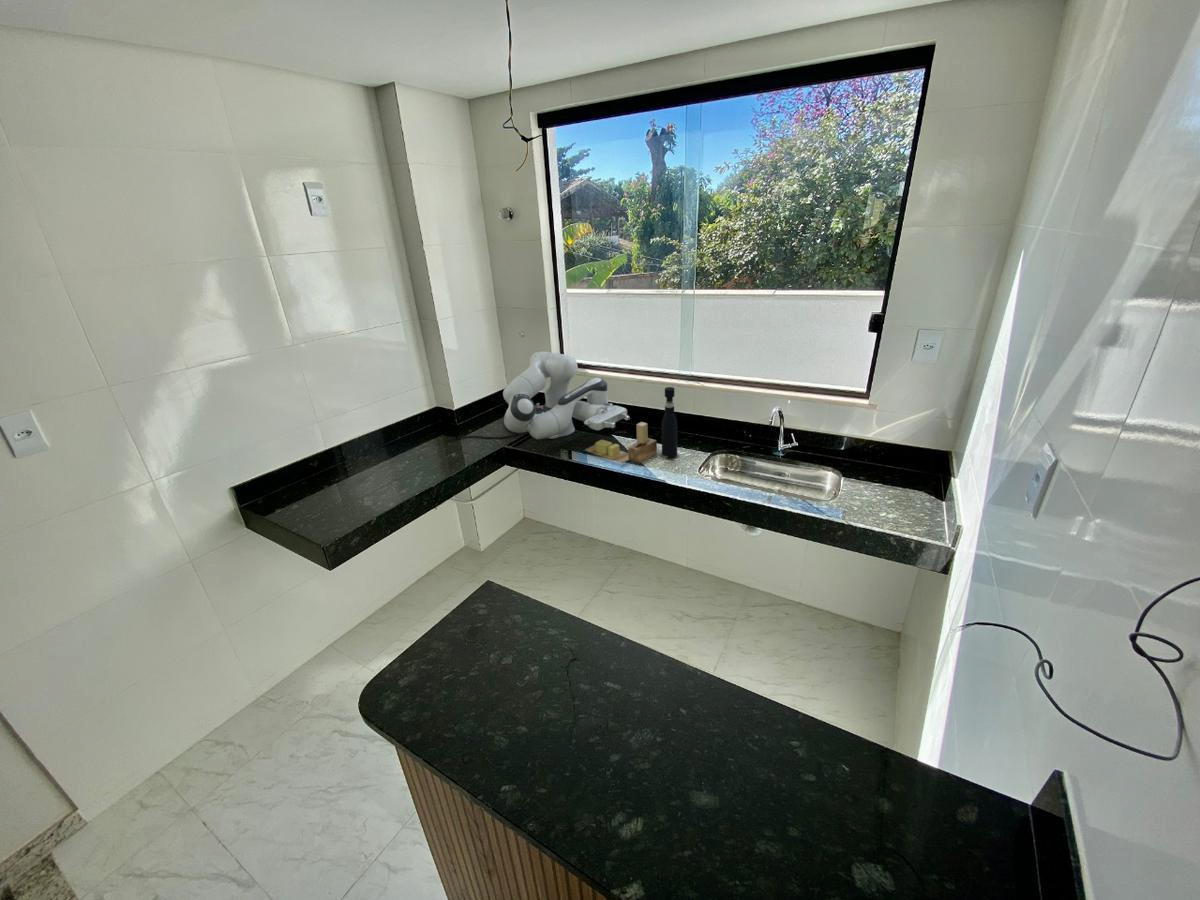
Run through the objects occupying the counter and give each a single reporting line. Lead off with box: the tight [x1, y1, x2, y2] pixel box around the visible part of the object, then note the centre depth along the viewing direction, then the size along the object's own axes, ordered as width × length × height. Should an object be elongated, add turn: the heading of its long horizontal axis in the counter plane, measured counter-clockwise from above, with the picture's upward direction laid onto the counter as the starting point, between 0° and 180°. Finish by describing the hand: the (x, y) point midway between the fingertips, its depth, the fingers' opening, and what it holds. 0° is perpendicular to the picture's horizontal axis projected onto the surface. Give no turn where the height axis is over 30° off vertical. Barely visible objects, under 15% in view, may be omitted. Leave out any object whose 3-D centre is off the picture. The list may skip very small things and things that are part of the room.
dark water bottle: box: [661, 386, 678, 460], centre depth 200 cm, size 6×6×30 cm
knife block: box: [627, 437, 658, 464], centre depth 205 cm, size 6×12×7 cm, turn 138°
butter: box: [594, 439, 613, 454], centre depth 212 cm, size 6×4×4 cm
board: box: [584, 444, 630, 464], centre depth 211 cm, size 22×9×1 cm, turn 48°
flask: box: [535, 402, 544, 414], centre depth 247 cm, size 9×3×11 cm, turn 87°
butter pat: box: [608, 443, 621, 457], centre depth 208 cm, size 2×4×4 cm, turn 138°
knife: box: [636, 421, 650, 448], centre depth 203 cm, size 3×8×16 cm, turn 138°
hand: (621, 422), depth 207 cm, fingers open, 8 cm apart
